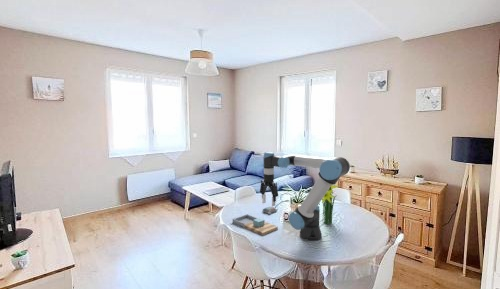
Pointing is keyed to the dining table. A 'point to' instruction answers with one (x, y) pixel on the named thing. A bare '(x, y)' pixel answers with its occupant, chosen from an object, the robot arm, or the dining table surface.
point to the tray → (243, 220)
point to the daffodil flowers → (328, 205)
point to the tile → (258, 222)
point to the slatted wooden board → (261, 228)
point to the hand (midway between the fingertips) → (268, 204)
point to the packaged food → (269, 210)
